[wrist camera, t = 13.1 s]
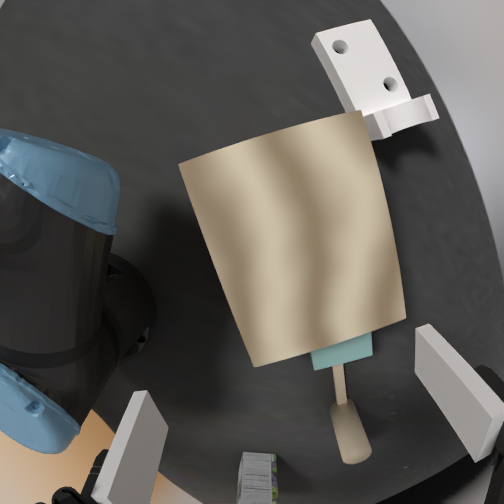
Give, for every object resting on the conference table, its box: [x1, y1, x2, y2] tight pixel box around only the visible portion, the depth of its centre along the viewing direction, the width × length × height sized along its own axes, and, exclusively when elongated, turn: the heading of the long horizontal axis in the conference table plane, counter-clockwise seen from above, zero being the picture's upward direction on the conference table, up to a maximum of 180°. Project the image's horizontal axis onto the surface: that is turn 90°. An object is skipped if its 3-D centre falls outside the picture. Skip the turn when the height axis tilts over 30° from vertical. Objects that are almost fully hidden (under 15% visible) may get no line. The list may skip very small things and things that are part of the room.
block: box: [309, 332, 373, 464], centre depth 36 cm, size 7×22×10 cm, turn 13°
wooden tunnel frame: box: [178, 110, 406, 367], centre depth 30 cm, size 14×18×12 cm
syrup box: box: [237, 452, 278, 504], centre depth 40 cm, size 6×6×14 cm
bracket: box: [311, 19, 439, 141], centre depth 28 cm, size 13×7×8 cm, turn 25°
